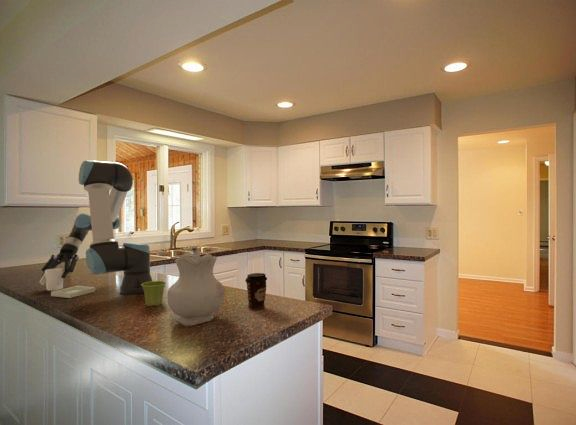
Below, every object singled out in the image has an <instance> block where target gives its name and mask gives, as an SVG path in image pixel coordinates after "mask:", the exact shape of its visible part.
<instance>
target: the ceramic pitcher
mask: <svg viewBox="0 0 576 425" xmlns="http://www.w3.org/2000/svg"><path fill="white" fill-rule="evenodd" d="M191 250H192V255H191V254H190V253H184V254H181V255H179V258H175V260H174V262H175V264H176V267H177V268H178V274H179V277H178V279H177V280H176V281H175V282H174V283H172V285H171V286H170V287H169V288H168V290H167V292H166V293H167V295H166V296H167V297H166V299H167V304H168V307H169V309H170V310H171V311H172V313H173V314H174V315H176V316H177V317H180V318H179V319H178V321H179V324H181V325H182V326H185V327H192V326H196V325H199V324H202V323H206V322H207V323H208V322H211V321H213V320H214V318H215V317H214V315H213V313H216V312H217V311H218V310H219V309H220V308H221V306H222V304H223V302H224V300H225V296H226V295H225V294H226V292H225V290H226V288H225V286H224V284H222V282H221V281H219V280H218V279H216V278H215V275H214V267H215V264H216V263H217V262H216V261H217V256H216V255H215V256H213V255H212V254H210V253H206V254H205V255H203V256H201V255H200V254H201V253H200V250H199V248H198V247H196V246H192V248H191Z"/></svg>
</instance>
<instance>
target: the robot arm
mask: <svg viewBox="0 0 576 425" xmlns="http://www.w3.org/2000/svg"><path fill="white" fill-rule="evenodd" d="M132 174H133V173H132V172H131V170H130V168H128V167H127V166H126V165H124V164H123V163H120V162H116V161H113V162H112V161H101V160H94V159H93V160H92V159H91V160H90V159H89V160H88V159H87V160H86V159H85V160H83V161H82V163H81V165H80V168H79V172H78V184H79V185H82V186H83V189H84V190H85V191H86V192H87V194H88V206H89V212H90V213H89V214H88V213H79V214H78V215H77V216H76V217H75V219H74V221H73V222H74V223H73V226H72V229H71V230H70V233H69V234H68V236H67V238H66V240H65V242H63V245H62V246H61V248H60V251H59V253H58V254H57V255H54V254H51V256H50V258H49V259H48V261H47V262H46V263H45V265H43V267H41V272H43V273H42V274H41V278H40V280H39V284H40V285H42V286H44V285H46V280H45V270H47V269H54V268H57V266H58V265H60V264H62V263H64V271H62V272H61V274H60V276H59V277H58V279H57V281H56V282H57V284H58V285H60V284H61V283H62V281H63V282H64V279H65V278H67V276H68V274H70V273H73V272H74V270H75V268H76V265H77V262H78V261H79V259H80V256H79V255H78V254H77V253H78V251H79V249H80V247H81V246H82V245H83V242H84V240H85V238H86V237H87V235H88V233H89V232H90V231H91V234H92V242H91V243H90V244H89V247H88V248H87V249H86V250H85V261H86V264H87V267H88V269H89V271H90V273H92V274H94V275H100V274H103V275H104V274H107V273H108V274H109V273H116V272H123V277H122V282H121V284H120V287H119V292H120V293H121V294H124V295H134V294H135V295H137V294H144V290H143V287H142V286H141V284H143V283H146V282H151V281H153V277H152V276H151V257H150V256H151V255H150V254H151V252H150V251H151V250H150V246H149V244H148V243H140V242H139V243H138V242H123V244H122V245H119V241H118V240H116V239H115V236H114V235H115V234H114V230H117V229H119V228H120V225H121V224H120V222H121V220H120V218H119V214H120V212H121V209H122V207H123V204H124V202H125V199H126V196H127V194H128V192H129V191H131V190H132V187H133V184H134V178H133V175H132Z"/></svg>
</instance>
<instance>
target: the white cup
mask: <svg viewBox="0 0 576 425" xmlns="http://www.w3.org/2000/svg"><path fill="white" fill-rule="evenodd" d="M62 271H64V268H63V267H55V268H54V269H47V270H45V280H46V282H45V285H46V291H50V292H52V291H56V290H61V289H64V280H63V281H62V283H61V284H60V285H58V284H57V282H56V281H57V279H58V277H59V276H60V274H61V272H62Z"/></svg>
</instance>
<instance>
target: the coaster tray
mask: <svg viewBox="0 0 576 425" xmlns="http://www.w3.org/2000/svg"><path fill="white" fill-rule="evenodd" d="M95 292H96V287H94V286H84V285H74V286H71V287H65V288H62V289H59V290H52V291H50V297H58V298H67V299H72V298H77V297H79V296H83V295H87V294H91V293H95Z"/></svg>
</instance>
